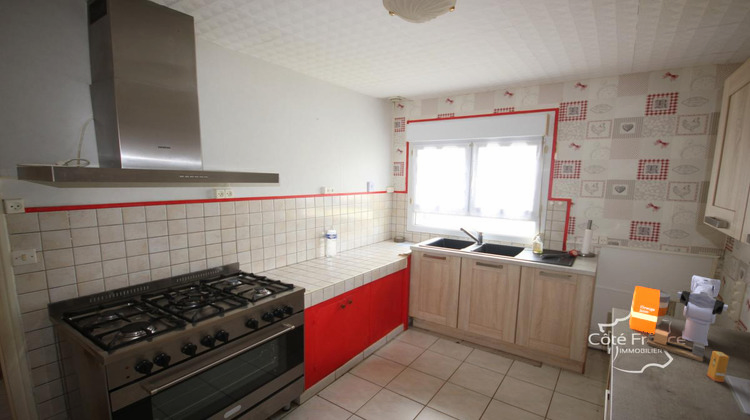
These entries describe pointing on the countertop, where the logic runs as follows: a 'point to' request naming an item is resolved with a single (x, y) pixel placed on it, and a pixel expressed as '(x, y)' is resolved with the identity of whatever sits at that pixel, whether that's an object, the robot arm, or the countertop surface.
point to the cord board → (680, 348)
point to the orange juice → (644, 309)
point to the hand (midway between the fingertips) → (699, 307)
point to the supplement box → (717, 366)
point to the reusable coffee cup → (662, 305)
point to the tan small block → (660, 336)
